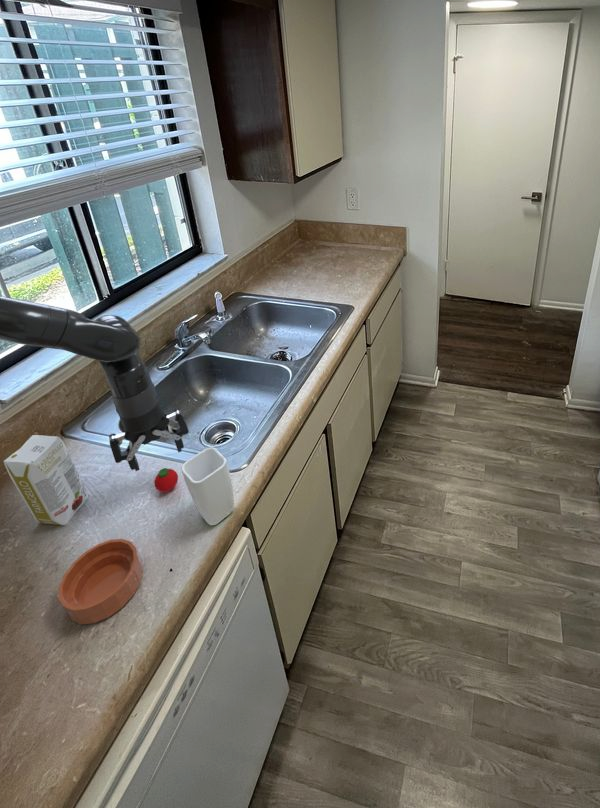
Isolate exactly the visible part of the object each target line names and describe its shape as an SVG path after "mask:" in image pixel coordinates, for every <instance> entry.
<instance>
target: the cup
mask: <svg viewBox="0 0 600 808" xmlns="http://www.w3.org/2000/svg"><path fill="white" fill-rule="evenodd" d="M229 469H230V468H229V466H228V461H227V459H226V457H225V456H224V455H222V454H221V452H220V451H219V450H218V449H217V448H215V447H212V446H211V447H207V448H205V449H203V450H201V451H200V452H198V453H196V454H195V455H194V456H192V457H191V458H189V459H187V460H186V461H185V462H184V463H182V465H181V467H180V470H181V473H182V476H183V479H184V482H185V486H186V488H187V490H188V492H189V494H190V497H191V499H192V501H193V503H194V505H195V507H196V509H197V510H198V512H199V514H200V516H201V517H202V518H203V519H204V521H205V522H206V523H207V524H208V525H209V526H216V525H218V524H219V523H220V522H221V521H222V520H224V519H225V518H227V517H228V516H229V515H230V514H232V513H233V512H234V510H235V497H234V496H235V495H234V488H233V487H234V486H233V482H232V477H231V473H230V470H229Z"/></svg>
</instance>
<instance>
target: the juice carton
mask: <svg viewBox="0 0 600 808" xmlns="http://www.w3.org/2000/svg"><path fill="white" fill-rule="evenodd" d="M3 464H4V468H5V469H6V471H7V474H8V476H9V478H10V480H11V481H12V484H14V487H15V488H16V490H17V492H18V493H19V495H20V497H21V498H22V500H23V502H24V503H25V505H26V507H27V508H28V511H29V512H30V514H31V515H32V518H33V519H34V520H35V521H36V522H37V523H38V524H44V525H54V526H66V525H67V524H68V523H69V522H70V520H71V519H72V518H73V517H74V515H75V514H76V513H77V512H78V510H79V509H80V508H81V507H82V506H83V505H84V504H85V502H86V501H87V500H88V498H89V494H88V492H87V489H86V487H85V484H84V482H83V479H82V477H81V476H80V473H79V472H78V469H77V468H76V465H75V463H74V461H73V459H72V457H71V455H70V453H69V451H68V448H67V447H66V445H65V443H64V441H63V440H62V439H61V437H60V436H55V435H43V434H42V435H40V434H39V435H38V434H32V435H31V436H30V437H29V438H28V439H27V440H26V441H25V442H24V444H23V445H22V446H21V447H20V448H19V449H18V450H16V451H15V452H13V453H12V454H11V455H9V456H8V457H7V458H6V459H4V460H3Z"/></svg>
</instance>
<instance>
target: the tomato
mask: <svg viewBox="0 0 600 808" xmlns="http://www.w3.org/2000/svg"><path fill="white" fill-rule="evenodd" d="M178 480H179V475H178V473H177V471H175V470H174V469H172V468H167V467H164V468H161V469H160V470H159V471H158V473H157V474H156V476H155V477H154V481H153V483H154V484H153V485H154V488H155V489H156V490H157V491H158V492H162V493H166V492H167V493H168V492H169V491H171V490H173V489H174V488H175V487H176V485H178Z"/></svg>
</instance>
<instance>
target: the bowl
mask: <svg viewBox="0 0 600 808" xmlns="http://www.w3.org/2000/svg"><path fill="white" fill-rule="evenodd" d="M144 572H145V571H144V562H143V560H142V558H141V555H140V554H139V551H138V549H137V547H136V546H135V545H134V544H133V542H132V541H130V540H126V539H124V538H115V539H109V540H107V541H103V542H100V543H98V544H96V545H94V546H93V547H91V548H89V549H87V550H86V551H84V552H83V554H81V555H80V556H79V557H78V558H77V559H76V560H75V561H73V562H72V564H71V565H70V566H69V568H68V569H67V570H66V571H65V573H64V574H63V575H62V579H61V581H60V584H59V586H58V595H57V597H58V598H57V599H58V600H59V602H60V604H61V607H63V609H64V610H65V612H66V614H67V616H68V617H69V619H70V620H71V622H74V623H77V624H80V625H91V624H97V623H98V622H101V621H103V620H105V619H108V618H109V617H111V616H112V615H114V614H115V613H117V612H118V611H119V610H121V609H122V608H123V607H124V606H125V605H126V604H127V603H128V602H129V601H130V600H131V599H132V598H133V597H134V595H135V593H136V592H137V590H138V588H139V587H140V585H141V583H142V579H143V576H144Z"/></svg>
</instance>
